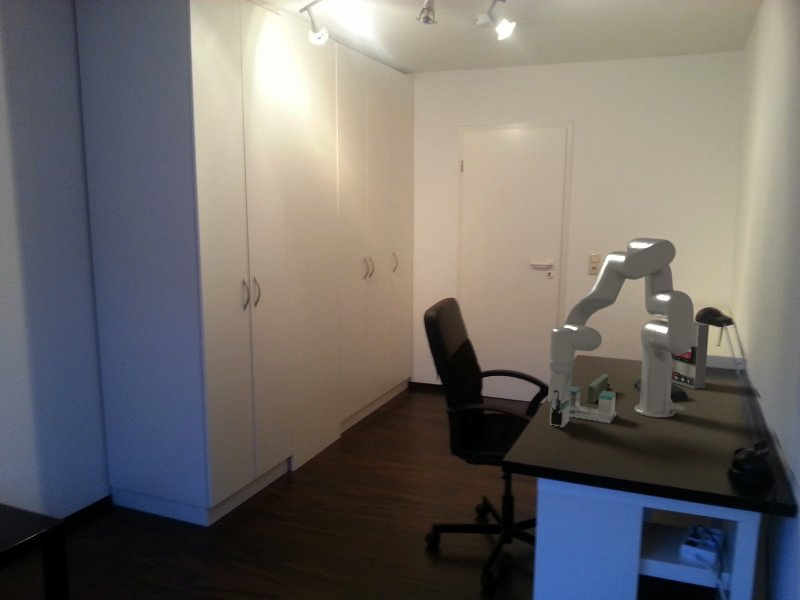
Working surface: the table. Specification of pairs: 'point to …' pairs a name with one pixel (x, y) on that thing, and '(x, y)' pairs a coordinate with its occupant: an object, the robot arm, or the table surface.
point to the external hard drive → (676, 392)
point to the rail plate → (601, 414)
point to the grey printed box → (692, 360)
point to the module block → (564, 413)
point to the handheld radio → (597, 388)
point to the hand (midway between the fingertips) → (559, 420)
